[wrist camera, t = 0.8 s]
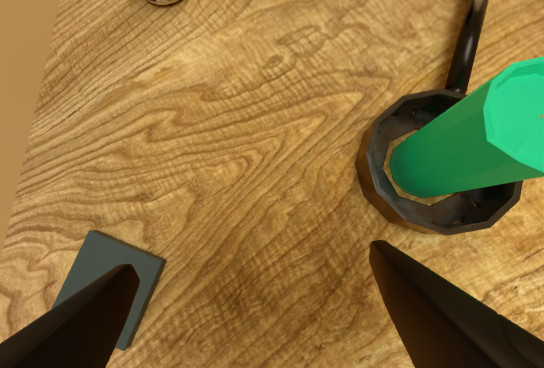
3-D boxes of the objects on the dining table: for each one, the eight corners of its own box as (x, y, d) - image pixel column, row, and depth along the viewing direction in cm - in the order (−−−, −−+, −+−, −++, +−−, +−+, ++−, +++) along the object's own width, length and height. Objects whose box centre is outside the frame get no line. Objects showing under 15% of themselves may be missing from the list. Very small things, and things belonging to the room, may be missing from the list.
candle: (390, 134, 22) (509, 29, 10) (455, 139, 21) (662, 35, 10) (388, 194, 21) (518, 157, 9) (456, 201, 20) (689, 171, 9)
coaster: (166, 259, 21) (162, 261, 20) (130, 346, 20) (123, 351, 19) (95, 230, 22) (88, 230, 21) (57, 311, 21) (48, 314, 20)
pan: (475, 251, 20) (509, 256, 17) (341, 205, 21) (350, 202, 18) (531, -11, 24) (566, -45, 21) (415, -34, 25) (432, -69, 22)
